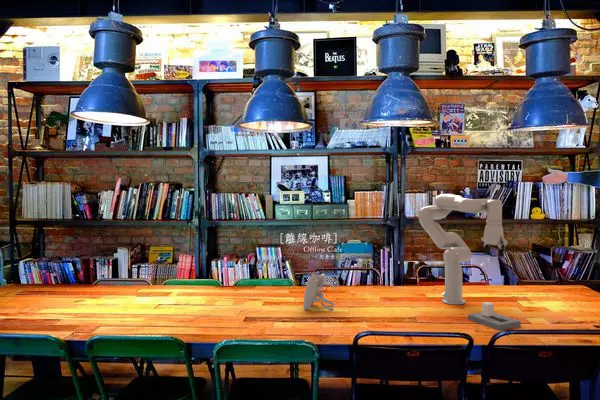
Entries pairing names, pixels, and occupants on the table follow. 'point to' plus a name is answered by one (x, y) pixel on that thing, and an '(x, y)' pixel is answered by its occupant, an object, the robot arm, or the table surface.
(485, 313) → the peg
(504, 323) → the keyhole plate
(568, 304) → the table surface
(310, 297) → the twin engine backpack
